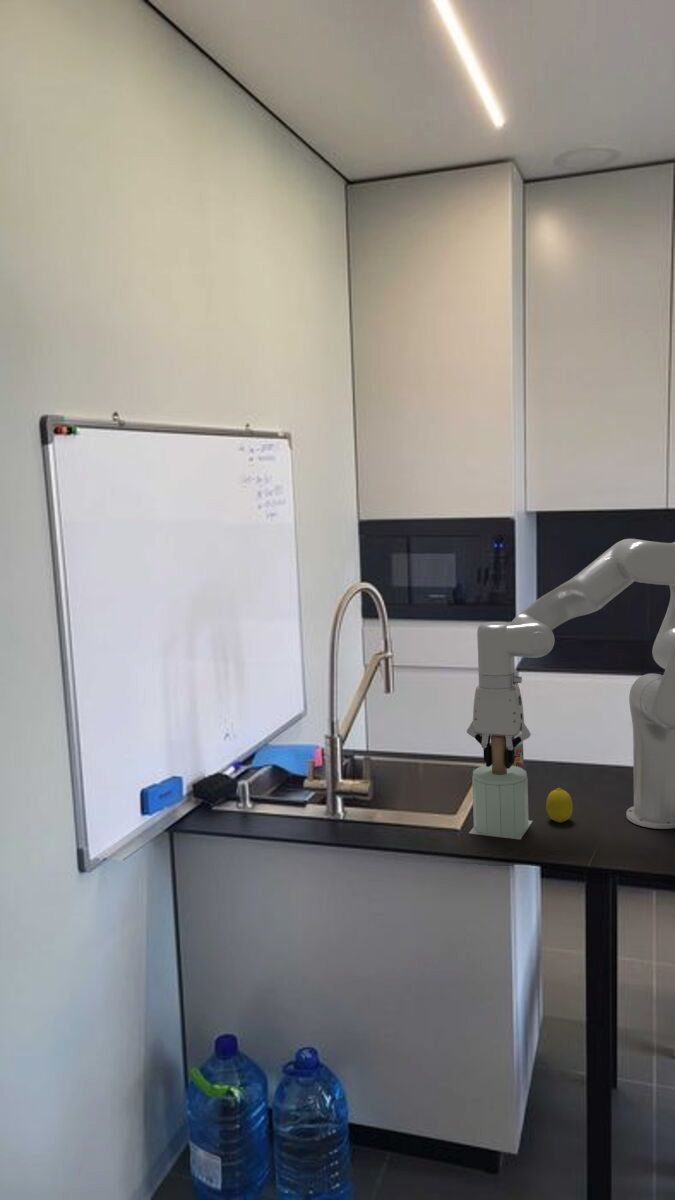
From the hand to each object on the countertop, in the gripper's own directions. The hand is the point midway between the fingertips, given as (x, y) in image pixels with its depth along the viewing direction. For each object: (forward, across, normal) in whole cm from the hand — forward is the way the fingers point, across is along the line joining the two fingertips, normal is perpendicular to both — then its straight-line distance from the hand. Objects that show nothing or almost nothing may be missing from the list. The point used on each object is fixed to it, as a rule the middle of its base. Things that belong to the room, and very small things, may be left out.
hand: (499, 765), depth 193 cm
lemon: (+14, -11, -7) cm, 19 cm away
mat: (+14, 0, 0) cm, 14 cm away
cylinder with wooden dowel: (+14, 0, 0) cm, 14 cm away
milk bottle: (+14, +6, -29) cm, 33 cm away
